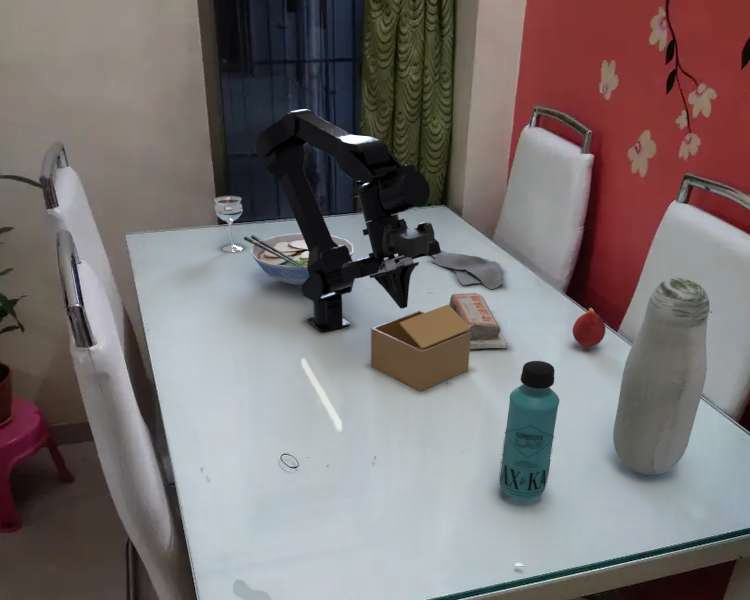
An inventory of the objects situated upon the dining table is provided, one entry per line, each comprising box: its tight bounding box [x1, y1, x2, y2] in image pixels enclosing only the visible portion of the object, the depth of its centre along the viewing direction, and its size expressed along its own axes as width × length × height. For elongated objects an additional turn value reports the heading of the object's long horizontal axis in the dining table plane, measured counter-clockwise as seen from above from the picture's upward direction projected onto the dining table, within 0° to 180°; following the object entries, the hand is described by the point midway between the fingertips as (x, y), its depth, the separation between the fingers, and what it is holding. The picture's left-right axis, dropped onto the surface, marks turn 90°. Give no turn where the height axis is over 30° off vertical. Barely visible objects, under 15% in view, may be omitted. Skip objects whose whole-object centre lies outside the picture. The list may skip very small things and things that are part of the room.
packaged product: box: [448, 292, 509, 350], centre depth 152 cm, size 18×5×10 cm
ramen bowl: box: [243, 232, 354, 287], centre depth 174 cm, size 25×23×8 cm
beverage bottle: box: [498, 360, 560, 501], centre depth 103 cm, size 6×7×20 cm
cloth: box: [430, 249, 503, 290], centre depth 182 cm, size 26×14×2 cm, turn 20°
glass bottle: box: [612, 277, 710, 476], centre depth 106 cm, size 10×10×28 cm
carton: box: [370, 310, 471, 392], centre depth 138 cm, size 13×12×7 cm
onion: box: [572, 307, 607, 350], centre depth 145 cm, size 6×6×8 cm
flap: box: [399, 304, 471, 349], centre depth 133 cm, size 6×12×1 cm, turn 132°
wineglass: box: [213, 195, 244, 253], centre depth 192 cm, size 7×7×12 cm
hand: (403, 307), depth 138 cm, fingers closed
